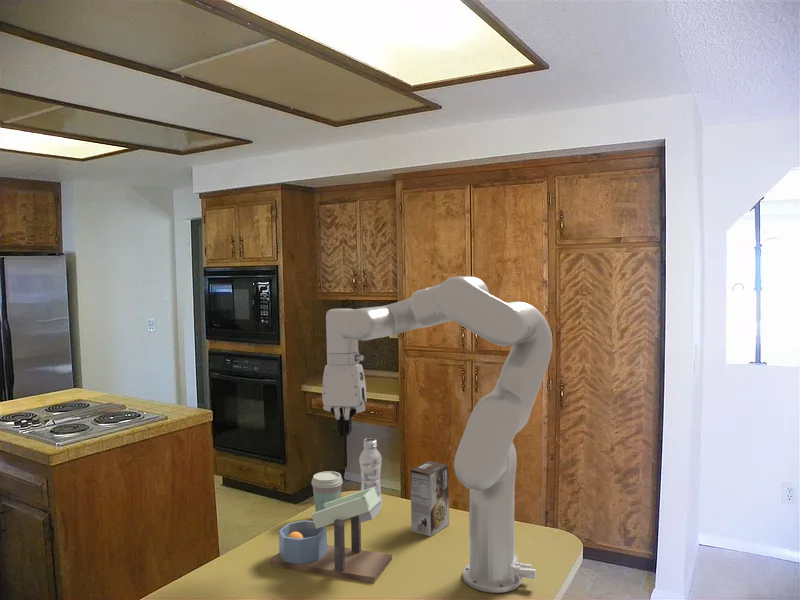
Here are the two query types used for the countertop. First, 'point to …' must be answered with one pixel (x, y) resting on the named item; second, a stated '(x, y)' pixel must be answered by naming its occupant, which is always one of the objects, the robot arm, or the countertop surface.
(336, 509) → the tipping tray
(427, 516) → the coffee box
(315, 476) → the coffee cup
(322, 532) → the blue cup
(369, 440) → the plastic bottle
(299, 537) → the orange ball
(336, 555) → the stand
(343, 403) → the robot arm
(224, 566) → the countertop surface
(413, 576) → the countertop surface
